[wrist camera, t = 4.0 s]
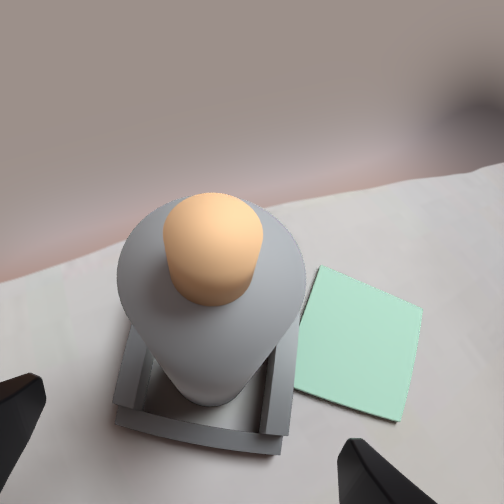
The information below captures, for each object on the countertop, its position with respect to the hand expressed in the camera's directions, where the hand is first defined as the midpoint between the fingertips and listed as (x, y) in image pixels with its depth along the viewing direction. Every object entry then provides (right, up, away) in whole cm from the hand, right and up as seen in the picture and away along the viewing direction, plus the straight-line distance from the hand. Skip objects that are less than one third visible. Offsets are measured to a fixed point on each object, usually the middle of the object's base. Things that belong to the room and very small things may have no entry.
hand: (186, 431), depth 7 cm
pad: (+9, -1, +13) cm, 16 cm away
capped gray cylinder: (-1, -2, +11) cm, 11 cm away
